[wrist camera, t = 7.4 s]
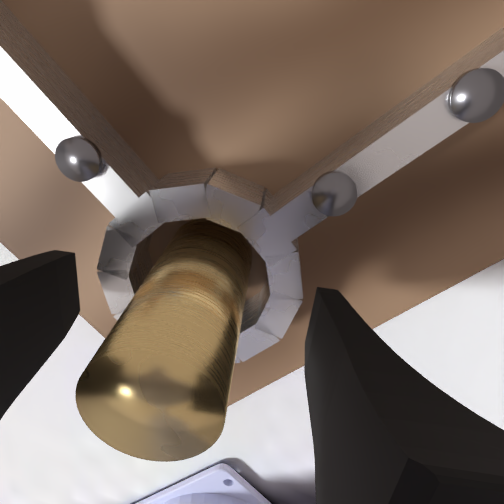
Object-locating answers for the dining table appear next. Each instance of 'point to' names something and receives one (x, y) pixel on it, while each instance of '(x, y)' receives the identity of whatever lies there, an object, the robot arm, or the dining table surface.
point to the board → (268, 140)
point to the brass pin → (172, 350)
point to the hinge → (228, 184)
